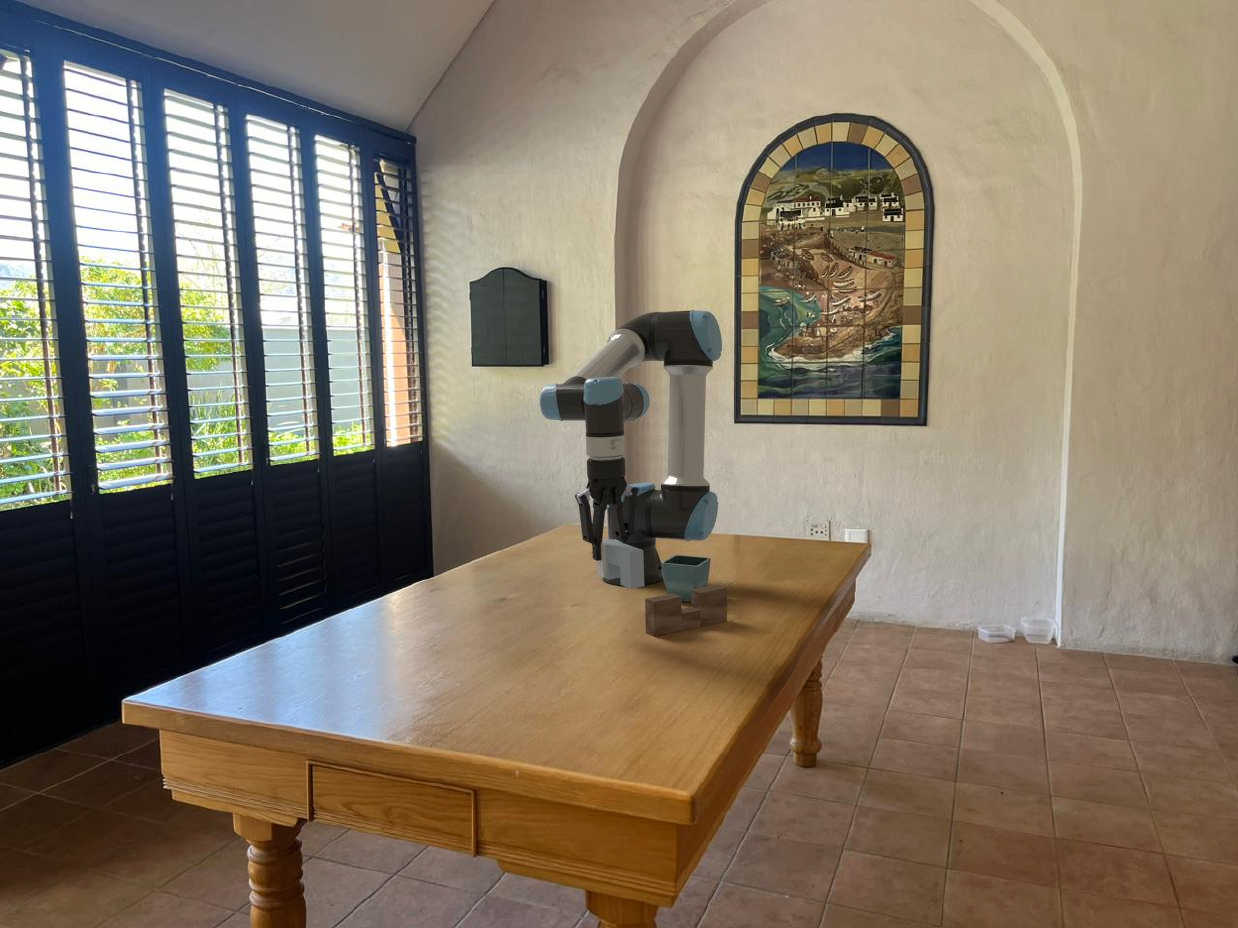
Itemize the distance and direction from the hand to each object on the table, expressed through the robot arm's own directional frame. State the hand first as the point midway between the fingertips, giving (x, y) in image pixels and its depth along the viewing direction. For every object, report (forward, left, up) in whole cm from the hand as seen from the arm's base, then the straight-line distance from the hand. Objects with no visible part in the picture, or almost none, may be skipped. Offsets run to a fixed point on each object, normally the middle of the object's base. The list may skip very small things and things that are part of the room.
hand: (609, 574), depth 186 cm
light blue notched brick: (+4, 0, 0) cm, 4 cm away
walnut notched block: (+5, +15, -12) cm, 20 cm away
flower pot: (-12, +27, -12) cm, 31 cm away
